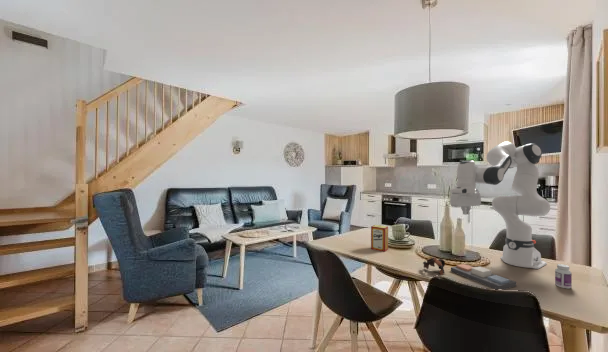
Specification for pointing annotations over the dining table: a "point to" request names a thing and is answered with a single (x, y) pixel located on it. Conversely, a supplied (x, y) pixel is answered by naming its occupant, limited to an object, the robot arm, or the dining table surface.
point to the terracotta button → (465, 267)
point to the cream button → (481, 271)
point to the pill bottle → (563, 276)
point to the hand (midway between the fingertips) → (465, 214)
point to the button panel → (483, 279)
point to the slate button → (498, 279)
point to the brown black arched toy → (439, 262)
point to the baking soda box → (379, 238)
